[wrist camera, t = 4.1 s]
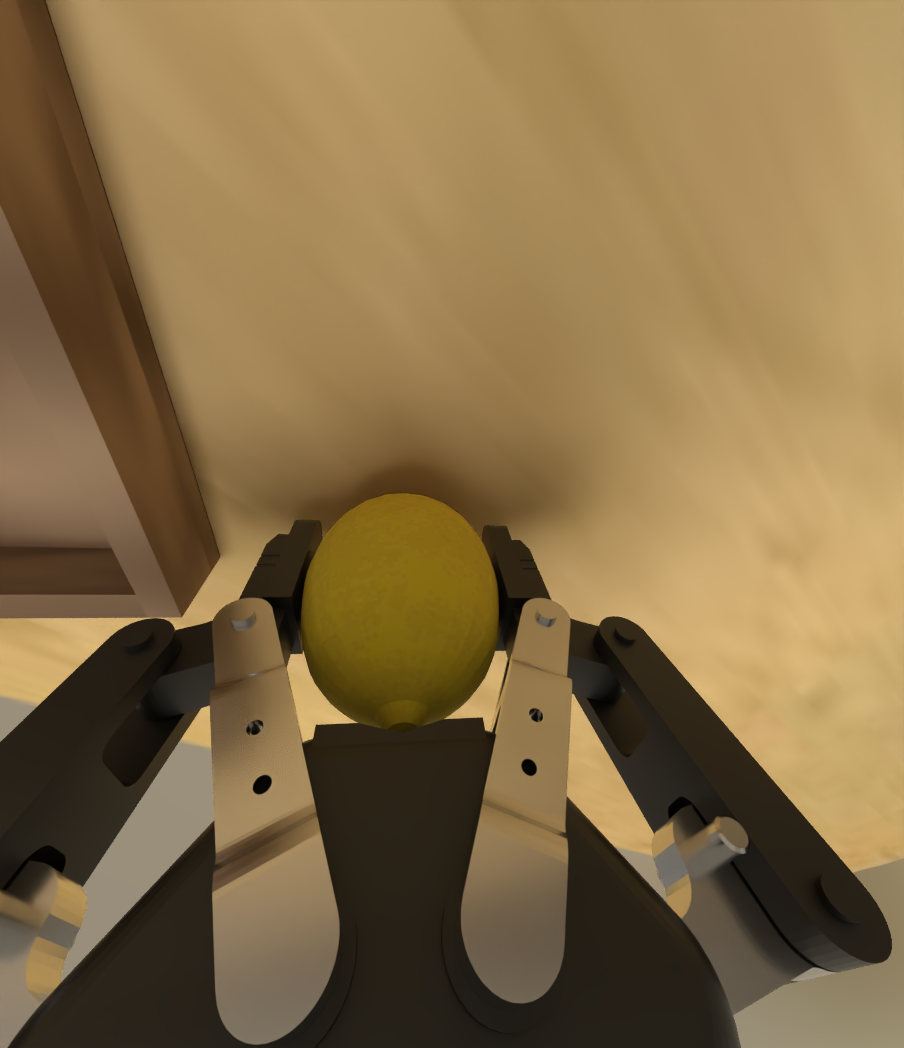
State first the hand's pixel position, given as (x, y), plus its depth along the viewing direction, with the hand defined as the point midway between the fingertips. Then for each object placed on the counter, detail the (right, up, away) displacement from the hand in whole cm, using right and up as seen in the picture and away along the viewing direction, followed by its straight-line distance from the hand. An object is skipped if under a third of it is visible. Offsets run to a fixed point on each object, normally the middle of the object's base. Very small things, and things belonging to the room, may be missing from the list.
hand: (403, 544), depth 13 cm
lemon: (0, +1, +1) cm, 2 cm away
